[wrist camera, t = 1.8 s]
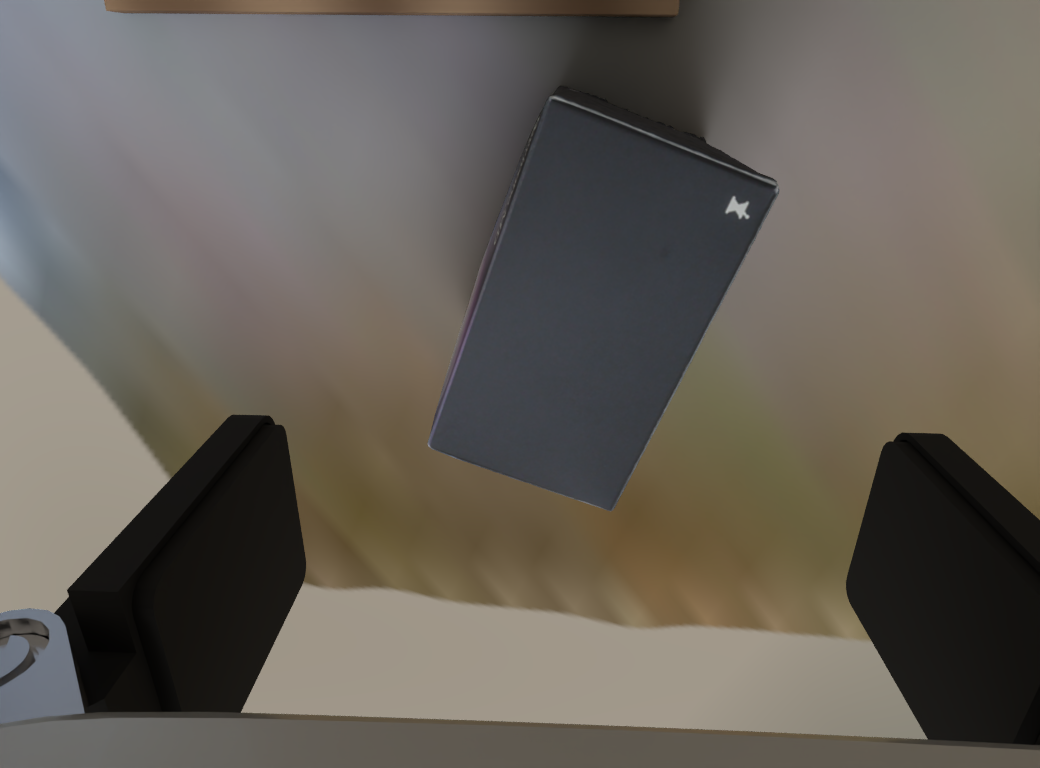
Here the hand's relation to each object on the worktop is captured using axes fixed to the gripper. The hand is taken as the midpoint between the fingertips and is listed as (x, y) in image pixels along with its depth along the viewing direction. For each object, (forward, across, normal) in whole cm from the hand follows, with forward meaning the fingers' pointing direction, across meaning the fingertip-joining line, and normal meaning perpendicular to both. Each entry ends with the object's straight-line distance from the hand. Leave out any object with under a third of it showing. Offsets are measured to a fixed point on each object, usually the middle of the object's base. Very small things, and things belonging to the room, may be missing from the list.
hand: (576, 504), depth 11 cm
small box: (+18, -1, 0) cm, 19 cm away
